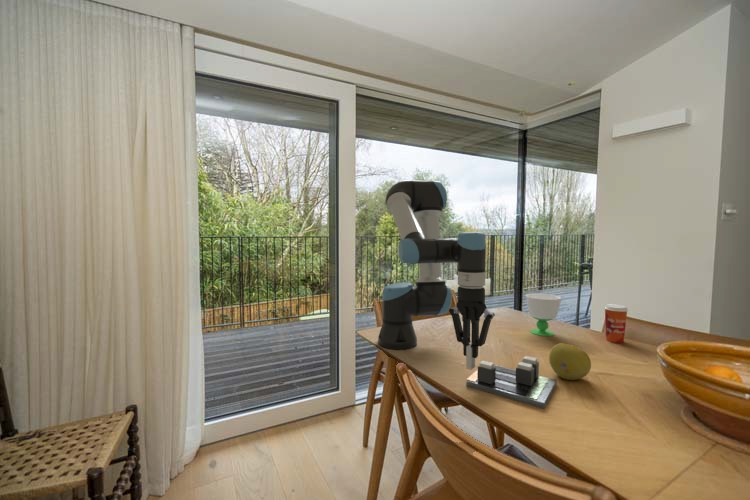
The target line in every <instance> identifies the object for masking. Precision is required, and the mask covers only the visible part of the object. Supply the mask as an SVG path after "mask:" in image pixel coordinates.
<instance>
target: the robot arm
mask: <svg viewBox="0 0 750 500" xmlns="http://www.w3.org/2000/svg"><path fill="white" fill-rule="evenodd" d="M385 195H386V196H385V206H386V209H387V210H388V212H389V213H390V214H392V218H393V221H394V223H395V225H396V228H397V231H398V234H399V237H400V240H399V242H398V246H397V247H398V249H397V251H398V252H397V254H398V258H399V261H400V262H401V263H402V264H411V265H415V264H418V271H419V272H418V273H419V277H418V279H417V280H416V281H415V285H413V284H412V282H407V281H406V282H405V281H404V282H402V281H401V282H395V283H391V284H388V285H385V286H384V287H383V289H382V298H381V300H382V324H381V327H380V330H379V334H378V336H377V337H378V338H377V340H378V341H377V343H378V345H379V346H380V347H382V348H385V349H390V350H406V349H411V348H414V347H415V346H417V344H418V338H417V335H416V331H415V328H414V324H413V317H422V316H424V317H426V316H434V317H435V316H441V315H443V316H444V315H445V314H446V315H447V313H448V312H449V314H450V315H451V318H452V323H453V327H454V333H455V337H456V341H457V342H458V343H461V344H462V346H463V352H462V353H463V354H462V355H463V356H464V357H465V360H466V361H465V363H466V364H465V368H466V369H467V370H470V371H471V370H473V369H475V368H476V359H477V358H478V357H479V347H482V346H483V345H484V344H486V341H487V337H488V334H489V329H490V325H491V321H493V319H494V317H495V316H496V314H495V312H491V311H489V310H488V309H487V305H486V303H485V302H486V288H485V287H484V286H486V255H487V254H486V251H487V244H486V234H485V233H484V232H482V231H479V232H477V231H472V232H471V231H469V232H468V231H465V232H464V231H463V232H459V233H458V235H457V237H449V238H440V219H439V217H440V216H441V215H442V214H443V210H445V209H446V207H447V201H448V195H447V190H446V187H445V185H444V184H443V183H442V181H440V180H439V181H438V180H432V179H430V180H429V179H428V180H416V179H415V180H414V179H413V180H408V179H403V180H400V181H398V182H396V183H395V184H393V185H392V186H391V187H390V188H389V189H388V191H387V193H386V194H385ZM442 263H443V264H449V263H452V264H453V263H456V264H457V285H458V287H457V302H456V304H455V306H453V307H451V306H452V299H453V296H452V295H453V294H452V288H451V287H450V285H447V284H446V280H445V278H443V277H442ZM483 314H484V315H483ZM460 315H461V317H460ZM482 316H483V318H484V319H483V321H482V326H481V329H480V321H481V320H480V319H481V317H482ZM461 319H462V320H461Z"/></svg>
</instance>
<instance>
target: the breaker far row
mask: <svg viewBox="0 0 750 500" xmlns="http://www.w3.org/2000/svg"><path fill="white" fill-rule="evenodd" d="M521 362H524V363H528V364H532V368H534V379H536V378H537V377H538V376H540V375H539V373H540V372H539V371H540V370H539V369H540V368H539V367H540V361H538V358H537V357H532V356H528V355H525V356H524V357H523V358H522V360H521Z"/></svg>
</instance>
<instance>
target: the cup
mask: <svg viewBox="0 0 750 500" xmlns="http://www.w3.org/2000/svg"><path fill="white" fill-rule="evenodd" d="M525 300H526V303H527V308H528V313H529V315H530V317H532V318H533V319H535V320H537V322H536V327H537V328H536V329H531V330H530V333H531V334H533V335H534V336H535V335H536V336H540V337H553V336H554V335H555V333H554V332H553V331H550V330H548V329H549V323H548V322H549V321H552V320H554V319H556V318H557V316H558V313H559V309H560V305H561V302H562V297H561V296H559V295H555V294H550V293H542V292H541V293H540V292H539V293H537V292H536V293H535V292H534V293H533V292H532V293H527V294H525Z"/></svg>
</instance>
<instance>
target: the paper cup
mask: <svg viewBox="0 0 750 500" xmlns="http://www.w3.org/2000/svg"><path fill="white" fill-rule="evenodd" d="M628 312H629V309H628V307H627V306H626V305H622V304H615V303H608V304H605V305H604V316H605V317H604V318H605V319H604V320H605V321H604V322H605V323H604V324H605V339H606V341H607V342H610V343H613V344H614V343H615V344H623V343H624V341H625V333H626V323H627V314H628Z"/></svg>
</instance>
